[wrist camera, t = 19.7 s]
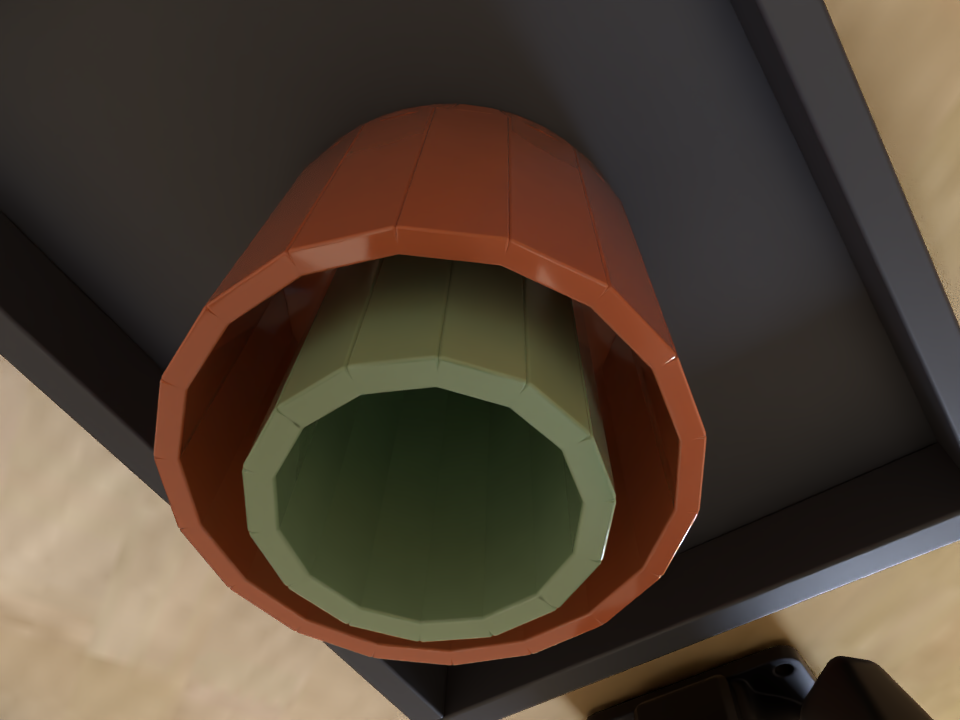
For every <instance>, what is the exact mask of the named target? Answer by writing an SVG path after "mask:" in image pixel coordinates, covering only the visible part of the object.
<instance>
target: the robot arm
mask: <svg viewBox="0 0 960 720" xmlns="http://www.w3.org/2000/svg"><path fill="white" fill-rule="evenodd" d="M587 720H933V719H932V718H931V717H930V716H929V715H928V714H927V713H926V712H925V711H924V710H923V709H922V708H921V707H920V706H919V705H918V704H917V703H916V702H915V701H914V700H913V699H912V698H911V697H910V696H909V695H908V694H907V693H906V692H905V691H904V690H903V689H902V688H901V687H900V686H899V685H898V684H897V683H896V682H895V681H894V680H893V679H892V678H891V677H890V676H889V675H888V674H887V673H886V672H885V671H884V670H883V669H882V668H881V667H880V666H879V665H877V664H876V663H874V662H872V661H869V660H864V659H858V658H851V657H845V656H837V657H835V658H833V659H831V660H830V661H829V662H828V663H827V665H826V666H825V668H824V670H823V671H822V673H821V674H820V676H819V677H818V679H816V677H815V676H814V674H813V673H812V671H811V670H810V669H809V667H808V666H807V664H806V663H805V661H804V660H803V658H802V657H801V656H800V654H799V653H798V651H797V650H796V649H794V648H793V647H790V646H787V645H779V646H775V647H771V648H768V649H766V650H763V651H760V652H758V653H755V654H752V655H750V656H747V657H744V658H742V659H739V660H737V661H734V662H731V663H729V664H726V665H723V666H721V667H718V668H715V669H713V670H710V671H707V672H705V673H702V674H699V675H697V676H694V677H691V678H689V679H686V680H683V681H681V682H678V683H675V684H673V685H670V686H667V687H665V688H662V689H659V690H657V691H654V692H651V693H649V694H646V695H643V696H641V697H638V698H635V699H633V700H630V701H627V702H625V703H622V704H619V705H617V706H614V707H611V708H609V709H606V710H603V711H601V712H598V713H595V714H593V715H591V716H589V717H588V718H587Z"/></svg>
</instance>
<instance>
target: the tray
mask: <svg viewBox="0 0 960 720" xmlns="http://www.w3.org/2000/svg"><path fill="white" fill-rule="evenodd" d="M434 104H467V105H474V106H481V107H488V108H493V109H497V110H500V111H504V112H508V113H511V114H515V115H518V116H520V117H522V118H525V119H527V120H529V121H532V122H534V123H536V124H539V125H541V126H543V127H545V128H546V129H548V130H550V131H551V132H553V133H555V134H556V135H558V136H560V137H561V138H563V139H564V140H566V141H567V142H568V143H569V144H571V145H572V146H573V147H574V148H576V149H577V150H578V151H579V152H581V153H582V154H583V155H584V156H585V157H586V158H587V159H588V160H589V161H590V162H591V163H592V164H593V165H594V166H595V168H596V169H597V170H598V171H599V172H600V173H601V174H602V175H603V177H604V178H605V180H606V181H607V182H608V184H609V185H610V187H611V188H612V190H613V191H614V192H615V194H616V196H617V197H618V198H619V199H620V201H621V202H622V204H623V207H624V210H625V212H626V215H627V218H628V221H629V223H630V226H631V229H632V231H633V234H634V237H635V240H636V242H637V245H638V248H639V250H640V253H641V256H642V259H643V261H644V264H645V267H646V270H647V272H648V275H649V278H650V280H651V283H652V286H653V289H654V291H655V294H656V297H657V299H658V302H659V305H660V308H661V310H662V313H663V316H664V319H665V321H666V324H667V327H668V329H669V332H670V335H671V338H672V340H673V343H674V346H675V348H676V351H677V354H678V357H679V359H680V362H681V365H682V368H683V370H684V373H685V376H686V378H687V381H688V384H689V387H690V389H691V392H692V395H693V398H694V400H695V403H696V406H697V409H698V411H699V414H700V417H701V419H702V422H703V425H704V428H705V430H706V437H707V441H706V451H705V462H704V472H703V482H702V493H701V503H700V510H699V511H698V516H697V517H696V519H695V521H694V523H693V524H692V526H691V528H690V530H689V531H688V533H687V535H686V536H685V538H684V540H683V542H682V543H681V545H680V547H679V549H678V550H677V552H676V554H675V556H674V557H673V559H672V561H671V563H670V564H669V566H668V568H667V569H666V571H665V573H664V575H663V576H661V578H660V579H659V580H658V581H657V582H655V583H654V584H653V585H652V586H650V587H649V588H648V589H647V590H646V591H644V592H643V593H642V594H641V595H639V596H638V597H637V598H636V599H635V600H633V601H632V602H631V603H630V604H629V605H627V606H626V607H625V608H624V609H622V610H621V611H620V612H619V613H618V614H616V615H615V616H614V617H613V618H612V619H610V620H609V621H608V622H607V623H605V624H603V625H602V626H600V627H597V628H595V629H593V630H590V631H588V632H585V633H583V634H580V635H578V636H576V637H573V638H571V639H568V640H566V641H563V642H561V643H559V644H556V645H554V646H551V647H549V648H547V649H544V650H542V651H539V652H537V653H534V654H532V653H531V654H530V655H525V656H518V657H510V658H503V659H496V660H489V661H482V662H474V663H467V664H460V665H453V664H452V665H442V664H431V663H421V662H410V661H400V660H389V659H379V658H373V656H372V657H368V656H365V655H362V654H359V653H356V652H353V651H351V650H348V649H345V648H342V647H339V646H336V645H333V644H330V643H327V642H324V641H323V642H324V643H325V644H326V645H327V646H328V647H329V648H331V649H332V650H333V651H334V652H335V653H336V654H337V655H338V656H340V657H341V658H342V659H343V660H344V661H345V662H346V663H347V664H349V665H350V666H351V667H352V668H353V669H354V670H355V671H356V672H357V673H359V674H360V675H361V676H362V677H363V678H364V679H365V680H366V681H368V682H369V683H370V684H371V685H372V686H373V687H374V688H375V689H377V690H378V691H379V692H380V693H381V694H382V695H383V696H384V697H386V698H387V699H388V700H389V701H390V702H391V703H392V704H393V705H395V706H396V707H397V708H398V709H399V710H400V711H401V712H402V713H403V714H405V715H406V716H407V717H408V718H409V719H410V720H499V719H502V718H505V717H507V716H510V715H512V714H515V713H517V712H520V711H523V710H525V709H528V708H530V707H533V706H535V705H538V704H541V703H543V702H546V701H548V700H551V699H553V698H556V697H558V696H561V695H564V694H566V693H569V692H571V691H574V690H576V689H579V688H582V687H584V686H587V685H589V684H592V683H594V682H597V681H600V680H602V679H605V678H607V677H610V676H612V675H615V674H617V673H620V672H623V671H625V670H628V669H630V668H633V667H635V666H638V665H641V664H643V663H646V662H648V661H651V660H653V659H656V658H659V657H661V656H664V655H666V654H669V653H671V652H674V651H676V650H679V649H682V648H684V647H687V646H689V645H692V644H694V643H697V642H700V641H702V640H705V639H707V638H710V637H712V636H715V635H718V634H720V633H723V632H725V631H728V630H730V629H733V628H735V627H738V626H741V625H743V624H746V623H748V622H751V621H753V620H756V619H759V618H761V617H764V616H766V615H769V614H771V613H774V612H777V611H779V610H782V609H784V608H787V607H789V606H792V605H794V604H797V603H800V602H802V601H805V600H807V599H810V598H812V597H815V596H818V595H820V594H823V593H825V592H828V591H830V590H833V589H836V588H838V587H841V586H843V585H846V584H848V583H851V582H853V581H856V580H859V579H861V578H864V577H866V576H869V575H871V574H874V573H877V572H879V571H882V570H884V569H887V568H889V567H892V566H895V565H897V564H900V563H902V562H905V561H907V560H910V559H912V558H915V557H918V556H920V555H923V554H925V553H928V552H930V551H933V550H936V549H938V548H941V547H943V546H946V545H948V544H951V543H954V542H956V541H959V540H960V326H959V324H958V321H957V319H956V317H955V314H954V312H953V310H952V307H951V305H950V302H949V300H948V298H947V295H946V293H945V290H944V288H943V286H942V283H941V281H940V278H939V276H938V274H937V271H936V269H935V266H934V264H933V262H932V259H931V257H930V254H929V252H928V250H927V247H926V245H925V242H924V240H923V238H922V235H921V233H920V230H919V228H918V226H917V223H916V221H915V219H914V216H913V214H912V211H911V209H910V207H909V204H908V202H907V199H906V197H905V195H904V192H903V190H902V187H901V185H900V183H899V180H898V178H897V175H896V173H895V171H894V168H893V166H892V163H891V161H890V159H889V156H888V154H887V151H886V149H885V147H884V144H883V142H882V139H881V137H880V135H879V132H878V130H877V128H876V125H875V123H874V120H873V118H872V116H871V113H870V111H869V108H868V106H867V104H866V101H865V99H864V96H863V94H862V92H861V89H860V87H859V84H858V82H857V80H856V77H855V75H854V72H853V70H852V68H851V65H850V63H849V60H848V58H847V56H846V53H845V51H844V48H843V46H842V44H841V41H840V39H839V36H838V34H837V32H836V29H835V27H834V25H833V22H832V20H831V17H830V15H829V13H828V10H827V8H826V5H825V3H824V1H823V0H0V354H1V355H2V356H3V357H4V358H5V359H6V360H8V361H9V362H10V363H11V364H12V365H13V366H14V367H15V368H17V369H18V370H19V371H20V372H21V373H22V374H23V375H24V376H26V377H27V378H28V379H29V380H30V381H31V382H32V383H33V384H34V385H36V386H37V387H38V388H39V389H40V390H41V391H42V392H43V393H45V394H46V395H47V396H48V397H49V398H50V399H51V400H52V401H54V402H55V403H56V404H57V405H58V406H59V407H60V408H61V409H63V410H64V411H65V412H66V413H67V414H68V415H69V416H70V417H72V418H73V419H74V420H75V421H76V422H77V423H78V424H79V425H80V426H82V427H83V428H84V429H85V430H86V431H87V432H88V433H89V434H91V435H92V436H93V437H94V438H95V439H96V440H97V441H98V442H100V443H101V444H102V445H103V446H104V447H105V448H106V449H107V450H109V451H110V452H111V453H112V454H113V455H114V456H115V457H116V458H117V459H119V460H120V461H121V462H122V463H123V464H124V465H125V466H126V467H128V468H129V469H130V470H131V471H132V472H133V473H134V474H135V475H137V476H138V477H139V478H140V479H141V480H142V481H143V482H144V483H146V484H147V485H148V486H149V487H150V488H151V489H152V490H153V491H154V492H156V493H157V494H158V495H159V496H160V497H161V498H162V499H163V500H165V501H166V502H167V503H168V504H169V505H170V503H169V500H168V497H167V494H166V491H165V488H164V486H163V483H162V480H161V477H160V474H159V472H158V469H157V466H156V463H155V460H154V442H155V431H156V419H157V408H158V397H159V385H160V380H161V378H162V374H163V372H164V371H165V369H166V368H167V366H168V364H169V363H170V361H171V359H172V358H173V356H174V354H175V353H176V351H177V350H178V348H179V346H180V345H181V343H182V341H183V340H184V338H185V336H186V335H187V333H188V332H189V330H190V328H191V327H192V325H193V323H194V322H195V320H196V318H197V317H198V315H199V314H200V312H201V310H202V309H203V307H204V306H205V304H206V303H207V302H208V300H209V299H210V297H211V296H212V295H213V293H214V292H215V291H216V289H217V288H218V287H219V285H220V284H221V282H222V281H223V280H224V278H225V277H226V276H227V274H228V273H229V271H230V270H231V269H232V267H233V266H234V265H235V263H236V262H237V261H238V259H239V258H240V256H241V255H242V254H243V252H244V251H245V250H246V248H247V247H248V245H249V244H250V243H251V241H252V240H253V239H254V237H255V236H256V235H257V233H258V232H259V230H260V229H261V228H262V226H263V225H264V224H265V222H266V221H267V220H268V218H269V217H270V215H271V214H272V213H273V211H274V210H275V209H276V207H277V206H278V204H279V203H280V202H281V200H282V199H283V198H284V196H285V195H286V194H287V192H288V191H289V189H290V188H291V187H292V185H293V184H294V183H295V181H296V180H297V179H298V177H299V176H300V174H301V173H302V172H303V170H304V169H305V168H306V167H307V166H308V164H310V163H311V162H312V161H314V160H315V159H317V157H318V156H319V155H320V154H321V153H322V152H324V151H325V150H326V149H327V148H328V147H330V146H331V145H332V144H333V143H334V142H336V141H337V140H338V139H339V138H341V137H342V136H344V135H346V134H347V133H349V132H351V131H352V130H354V129H355V128H357V127H359V126H360V125H362V124H365V123H367V122H369V121H371V120H374V119H376V118H378V117H381V116H383V115H385V114H389V113H393V112H396V111H400V110H404V109H407V108H411V107H419V106H426V105H434ZM170 506H171V505H170Z"/></svg>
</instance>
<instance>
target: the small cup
mask: <svg viewBox="0 0 960 720" xmlns="http://www.w3.org/2000/svg"><path fill="white" fill-rule="evenodd" d="M242 476H243V487H244V498H245V508H246V519H247V529H248V531H249V534H250V536H251V538H252V539H253V541H254V542H255V543H256V545H257V546H258V548H259V549H260V550H261V552H262V553H263V555H264V556H265V558H266V559H267V560H268V562H269V563H270V565H271V566H272V567H273V569H274V570H275V572H276V573H277V575H278V576H279V577H280V579H281V580H282V582H283V583H284V584H285V585H286V586H288V588H289V589H290V590H292V591H293V592H295V593H296V594H298V595H300V596H301V597H303V598H304V599H306V600H308V601H309V602H311V603H313V604H314V605H316V606H317V607H319V608H321V609H322V610H324V611H325V612H327V613H329V614H330V615H332V616H333V617H335V618H337V619H338V620H340V621H341V622H343V623H345V624H348V623H349V625H350V626H353V627H357V628H361V629H366V630H370V631H374V632H378V633H383V634H387V635H391V636H395V637H400V638H404V639H408V640H412V641H421V642H430V641H444V640H458V639H472V638H486V637H492V635H493V636H497V635H499V634H501V633H504V632H506V631H509V630H511V629H513V628H516V627H518V626H520V625H523V624H525V623H527V622H530V621H532V620H534V619H537V618H539V617H541V616H544V615H546V614H548V613H551V612H553V611H555V610H556V609H557V608H559V607H561V606H562V605H563V603H564V602H565V601H566V600H567V599H568V598H569V597H570V596H571V595H572V594H573V593H574V592H575V591H576V590H577V589H578V588H579V586H580V585H581V584H582V583H583V582H584V581H585V580H586V579H587V578H588V577H589V576H590V575H591V574H592V573H593V572H594V570H595V569H596V568H597V567H598V566H599V565H600V564H601V561H602V560H603V558H604V555H605V550H606V546H607V542H608V537H609V533H610V528H611V524H612V520H613V515H614V511H615V506H616V502H617V501H616V492H615V486H614V481H613V475H612V470H611V464H610V459H609V453H608V447H607V442H606V436H605V431H604V425H603V420H602V414H601V408H600V403H599V397H598V392H597V386H596V381H595V375H594V370H593V364H592V358H591V353H590V347H589V342H588V336H587V331H586V325H585V320H584V314H583V308H582V303H580V302H578V301H576V300H574V299H572V298H570V297H568V296H565V295H563V294H561V293H559V292H557V291H555V290H553V289H550V288H548V287H546V286H544V285H542V284H540V283H537V282H535V281H533V280H531V279H529V278H527V277H525V276H522V275H520V274H518V273H516V272H514V271H512V270H509V269H507V268H505V267H503V266H501V265H492V264H483V263H474V262H464V261H455V260H446V259H437V258H428V257H419V256H410V255H401V254H398V255H394V256H389V257H385V258H380V259H376V260H371V261H367V262H362V263H358V264H353V265H349V266H344V267H340V268H335V269H333V270H332V273H331V275H330V277H329V279H328V281H327V283H326V286H325V288H324V290H323V292H322V294H321V296H320V299H319V301H318V303H317V305H316V307H315V309H314V312H313V314H312V316H311V318H310V320H309V322H308V325H307V327H306V329H305V331H304V333H303V335H302V338H301V340H300V342H299V344H298V346H297V348H296V351H295V353H294V355H293V357H292V359H291V361H290V364H289V366H288V368H287V370H286V372H285V374H284V377H283V379H282V381H281V383H280V385H279V387H278V390H277V392H276V394H275V396H274V398H273V400H272V403H271V405H270V407H269V409H268V411H267V413H266V416H265V418H264V420H263V422H262V424H261V426H260V429H259V431H258V433H257V435H256V437H255V439H254V442H253V444H252V446H251V448H250V450H249V452H248V455H247V457H246V459H245V461H244V463H243V469H242Z"/></svg>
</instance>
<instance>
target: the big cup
mask: <svg viewBox="0 0 960 720" xmlns="http://www.w3.org/2000/svg"><path fill="white" fill-rule="evenodd" d="M398 254H401V255H410V256H419V257H428V258H437V259H446V260H455V261H464V262H474V263H483V264H492V265H501V266H503V267H505V268H507V269H509V270H512V271H514V272H516V273H518V274H520V275H522V276H525V277H527V278H529V279H531V280H533V281H535V282H537V283H540V284H542V285H544V286H546V287H548V288H550V289H553V290H555V291H557V292H559V293H561V294H563V295H565V296H568V297H570V298H572V299H574V300H576V301H578V302H580V303H582V308H583V314H584V320H585V325H586V331H587V336H588V342H589V347H590V353H591V358H592V364H593V370H594V375H595V381H596V386H597V392H598V397H599V403H600V408H601V414H602V420H603V425H604V431H605V436H606V442H607V447H608V453H609V459H610V464H611V470H612V475H613V481H614V486H615V492H616V501H617V502H616V506H615V511H614V515H613V520H612V524H611V528H610V533H609V537H608V542H607V546H606V550H605V555H604V558H603V560H602V561H601V564H600V565H599V566H598V567H597V568H596V569H595V570H594V572H593V573H592V574H591V575H590V576H589V577H588V578H587V579H586V580H585V581H584V582H583V583H582V584H581V585H580V586H579V588H578V589H577V590H576V591H575V592H574V593H573V594H572V595H571V596H570V597H569V598H568V599H567V600H566V601H565V602H564V603H563V605H562V606H561V607H559V608H557V609H556V610H555V611H553V612H551V613H548V614H546V615H544V616H541V617H539V618H537V619H534V620H532V621H530V622H527V623H525V624H523V625H520V626H518V627H516V628H513V629H511V630H509V631H506V632H504V633H501V634H499V635H497V636H493V635H492V637H486V638H472V639H458V640H444V641H430V642H421V641H412V640H408V639H404V638H400V637H395V636H391V635H387V634H383V633H378V632H374V631H370V630H366V629H361V628H357V627H353V626H350V625H349V623H348V624H345V623H343V622H341V621H340V620H338V619H337V618H335V617H333V616H332V615H330V614H329V613H327V612H325V611H324V610H322V609H321V608H319V607H317V606H316V605H314V604H313V603H311V602H309V601H308V600H306V599H304V598H303V597H301V596H300V595H298V594H296V593H295V592H293V591H292V590H290V589H289V588H288V586H286V585H285V584H284V583H283V582H282V580H281V579H280V577H279V576H278V575H277V573H276V572H275V570H274V569H273V567H272V566H271V565H270V563H269V562H268V560H267V559H266V558H265V556H264V555H263V553H262V552H261V550H260V549H259V548H258V546H257V545H256V543H255V542H254V541H253V539H252V538H251V536H250V534H249V531H248V529H247V519H246V508H245V498H244V487H243V476H242V469H243V463H244V461H245V459H246V457H247V455H248V452H249V450H250V448H251V446H252V444H253V442H254V439H255V437H256V435H257V433H258V431H259V429H260V426H261V424H262V422H263V420H264V418H265V416H266V413H267V411H268V409H269V407H270V405H271V403H272V400H273V398H274V396H275V394H276V392H277V390H278V387H279V385H280V383H281V381H282V379H283V377H284V374H285V372H286V370H287V368H288V366H289V364H290V361H291V359H292V357H293V355H294V353H295V351H296V348H297V346H298V344H299V342H300V340H301V338H302V335H303V333H304V331H305V329H306V327H307V325H308V322H309V320H310V318H311V316H312V314H313V312H314V309H315V307H316V305H317V303H318V301H319V299H320V296H321V294H322V292H323V290H324V288H325V286H326V283H327V281H328V279H329V277H330V275H331V273H332V270H333V269H335V268H340V267H344V266H349V265H353V264H358V263H362V262H367V261H371V260H376V259H380V258H385V257H389V256H394V255H398ZM706 441H707V437H706V430H705V428H704V425H703V422H702V419H701V417H700V414H699V411H698V409H697V406H696V403H695V400H694V398H693V395H692V392H691V389H690V387H689V384H688V381H687V378H686V376H685V373H684V370H683V368H682V365H681V362H680V359H679V357H678V354H677V351H676V348H675V346H674V343H673V340H672V338H671V335H670V332H669V329H668V327H667V324H666V321H665V319H664V316H663V313H662V310H661V308H660V305H659V302H658V299H657V297H656V294H655V291H654V289H653V286H652V283H651V280H650V278H649V275H648V272H647V270H646V267H645V264H644V261H643V259H642V256H641V253H640V250H639V248H638V245H637V242H636V240H635V237H634V234H633V231H632V229H631V226H630V223H629V221H628V218H627V215H626V212H625V210H624V207H623V204H622V202H621V201H620V199H619V198H618V197H617V196H616V194H615V192H614V191H613V190H612V188H611V187H610V185H609V184H608V182H607V181H606V180H605V178H604V177H603V175H602V174H601V173H600V172H599V171H598V170H597V169H596V168H595V166H594V165H593V164H592V163H591V162H590V161H589V160H588V159H587V158H586V157H585V156H584V155H583V154H582V153H581V152H579V151H578V150H577V149H576V148H574V147H573V146H572V145H571V144H569V143H568V142H567V141H566V140H564V139H563V138H561V137H560V136H558V135H556V134H555V133H553V132H551V131H550V130H548V129H546V128H545V127H543V126H541V125H539V124H536V123H534V122H532V121H529V120H527V119H525V118H522V117H520V116H518V115H515V114H511V113H508V112H504V111H500V110H497V109H493V108H488V107H481V106H474V105H467V104H434V105H426V106H419V107H411V108H407V109H404V110H400V111H396V112H393V113H389V114H385V115H383V116H381V117H378V118H376V119H374V120H371V121H369V122H367V123H365V124H362V125H360V126H359V127H357V128H355V129H354V130H352V131H351V132H349V133H347V134H346V135H344V136H342V137H341V138H339V139H338V140H337V141H336V142H334V143H333V144H332V145H331V146H330V147H328V148H327V149H326V150H325V151H324V152H322V153H321V154H320V155H319V156H318V157H317V159H315V160H314V161H312V162H311V163H310V164H308V166H307V167H306V168H305V169H304V170H303V172H302V173H301V174H300V176H299V177H298V179H297V180H296V181H295V183H294V184H293V185H292V187H291V188H290V189H289V191H288V192H287V194H286V195H285V196H284V198H283V199H282V200H281V202H280V203H279V204H278V206H277V207H276V209H275V210H274V211H273V213H272V214H271V215H270V217H269V218H268V220H267V221H266V222H265V224H264V225H263V226H262V228H261V229H260V230H259V232H258V233H257V235H256V236H255V237H254V239H253V240H252V241H251V243H250V244H249V245H248V247H247V248H246V250H245V251H244V252H243V254H242V255H241V256H240V258H239V259H238V261H237V262H236V263H235V265H234V266H233V267H232V269H231V270H230V271H229V273H228V274H227V276H226V277H225V278H224V280H223V281H222V282H221V284H220V285H219V287H218V288H217V289H216V291H215V292H214V293H213V295H212V296H211V297H210V299H209V300H208V302H207V303H206V304H205V306H204V307H203V309H202V310H201V312H200V314H199V315H198V317H197V318H196V320H195V322H194V323H193V325H192V327H191V328H190V330H189V332H188V333H187V335H186V336H185V338H184V340H183V341H182V343H181V345H180V346H179V348H178V350H177V351H176V353H175V354H174V356H173V358H172V359H171V361H170V363H169V364H168V366H167V368H166V369H165V371H164V372H163V374H162V378H161V380H160V385H159V397H158V408H157V419H156V431H155V442H154V460H155V463H156V466H157V469H158V472H159V474H160V477H161V480H162V483H163V486H164V488H165V491H166V494H167V497H168V500H169V503H170V505H171V508H172V511H173V514H174V517H175V519H176V522H177V525H178V527H179V528H180V531H181V532H182V533H183V534H184V536H185V537H186V538H187V539H188V540H189V542H190V543H191V544H192V545H193V546H194V548H195V549H196V550H197V551H198V552H199V553H200V555H201V556H202V557H203V558H204V559H205V561H206V562H207V563H208V564H209V565H210V567H211V568H212V569H213V570H214V571H215V572H216V574H217V575H218V576H219V577H220V578H221V580H222V581H223V582H224V583H225V584H226V586H227V587H230V589H231V590H232V591H234V592H235V593H237V594H238V595H240V596H241V597H243V598H244V599H246V600H247V601H249V602H251V603H252V604H254V605H255V606H257V607H258V608H260V609H261V610H263V611H264V612H266V613H267V614H269V615H270V616H272V617H274V618H275V619H277V620H278V621H280V622H281V623H283V624H284V625H286V626H287V627H289V628H290V629H292V630H293V631H297V632H298V633H300V634H303V635H306V636H309V637H312V638H315V639H318V640H321V641H324V642H327V643H330V644H333V645H336V646H339V647H342V648H345V649H348V650H351V651H353V652H356V653H359V654H362V655H365V656H368V657H372V656H373V658H379V659H389V660H400V661H410V662H421V663H431V664H442V665H452V664H453V665H460V664H467V663H474V662H482V661H489V660H496V659H503V658H510V657H518V656H525V655H530V654H531V653H532V654H534V653H537V652H539V651H542V650H544V649H547V648H549V647H551V646H554V645H556V644H559V643H561V642H563V641H566V640H568V639H571V638H573V637H576V636H578V635H580V634H583V633H585V632H588V631H590V630H593V629H595V628H597V627H600V626H602V625H603V624H605V623H607V622H608V621H609V620H610V619H612V618H613V617H614V616H615V615H616V614H618V613H619V612H620V611H621V610H622V609H624V608H625V607H626V606H627V605H629V604H630V603H631V602H632V601H633V600H635V599H636V598H637V597H638V596H639V595H641V594H642V593H643V592H644V591H646V590H647V589H648V588H649V587H650V586H652V585H653V584H654V583H655V582H657V581H658V580H659V579H660V578H661V576H663V575H664V573H665V571H666V569H667V568H668V566H669V564H670V563H671V561H672V559H673V557H674V556H675V554H676V552H677V550H678V549H679V547H680V545H681V543H682V542H683V540H684V538H685V536H686V535H687V533H688V531H689V530H690V528H691V526H692V524H693V523H694V521H695V519H696V517H697V516H698V511H699V510H700V503H701V493H702V482H703V472H704V462H705V451H706Z"/></svg>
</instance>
